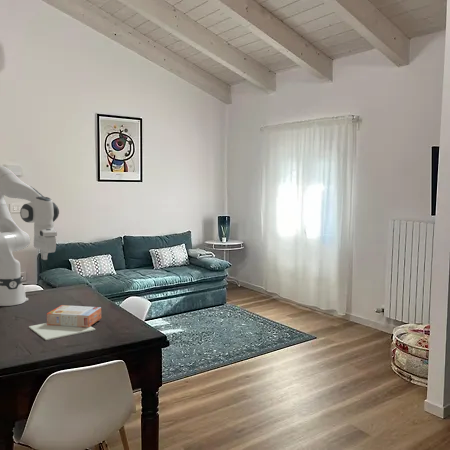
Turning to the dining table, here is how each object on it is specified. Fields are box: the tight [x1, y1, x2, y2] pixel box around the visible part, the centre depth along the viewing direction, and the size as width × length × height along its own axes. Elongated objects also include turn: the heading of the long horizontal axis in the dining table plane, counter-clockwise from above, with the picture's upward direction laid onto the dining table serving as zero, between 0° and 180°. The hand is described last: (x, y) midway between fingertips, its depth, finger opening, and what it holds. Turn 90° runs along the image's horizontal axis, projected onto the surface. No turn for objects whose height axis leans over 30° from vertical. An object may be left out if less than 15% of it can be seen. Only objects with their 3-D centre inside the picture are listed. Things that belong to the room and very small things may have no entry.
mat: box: [28, 322, 96, 341], centre depth 212 cm, size 22×22×1 cm
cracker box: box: [46, 304, 102, 327], centre depth 220 cm, size 14×6×21 cm
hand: (44, 259), depth 225 cm, fingers closed
